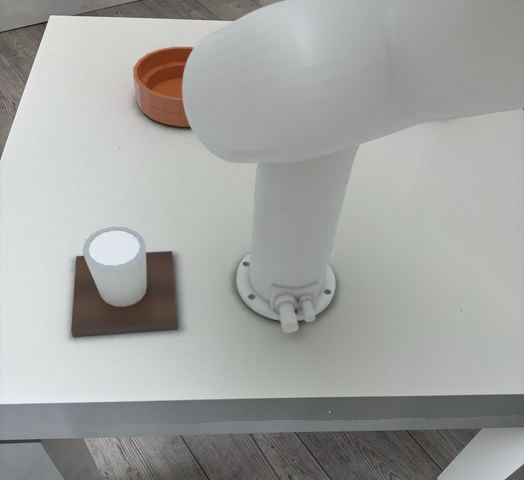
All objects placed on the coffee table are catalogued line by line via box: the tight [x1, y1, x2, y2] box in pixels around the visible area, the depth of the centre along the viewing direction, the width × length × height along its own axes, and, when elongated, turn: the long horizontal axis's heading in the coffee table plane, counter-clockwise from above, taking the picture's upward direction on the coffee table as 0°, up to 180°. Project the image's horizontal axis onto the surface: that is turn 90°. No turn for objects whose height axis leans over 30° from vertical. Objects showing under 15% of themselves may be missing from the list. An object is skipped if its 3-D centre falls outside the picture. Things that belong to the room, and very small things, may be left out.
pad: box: [70, 250, 178, 338], centre depth 66 cm, size 12×12×1 cm
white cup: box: [82, 226, 147, 307], centre depth 63 cm, size 7×7×7 cm
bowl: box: [132, 46, 195, 128], centre depth 90 cm, size 16×16×5 cm
